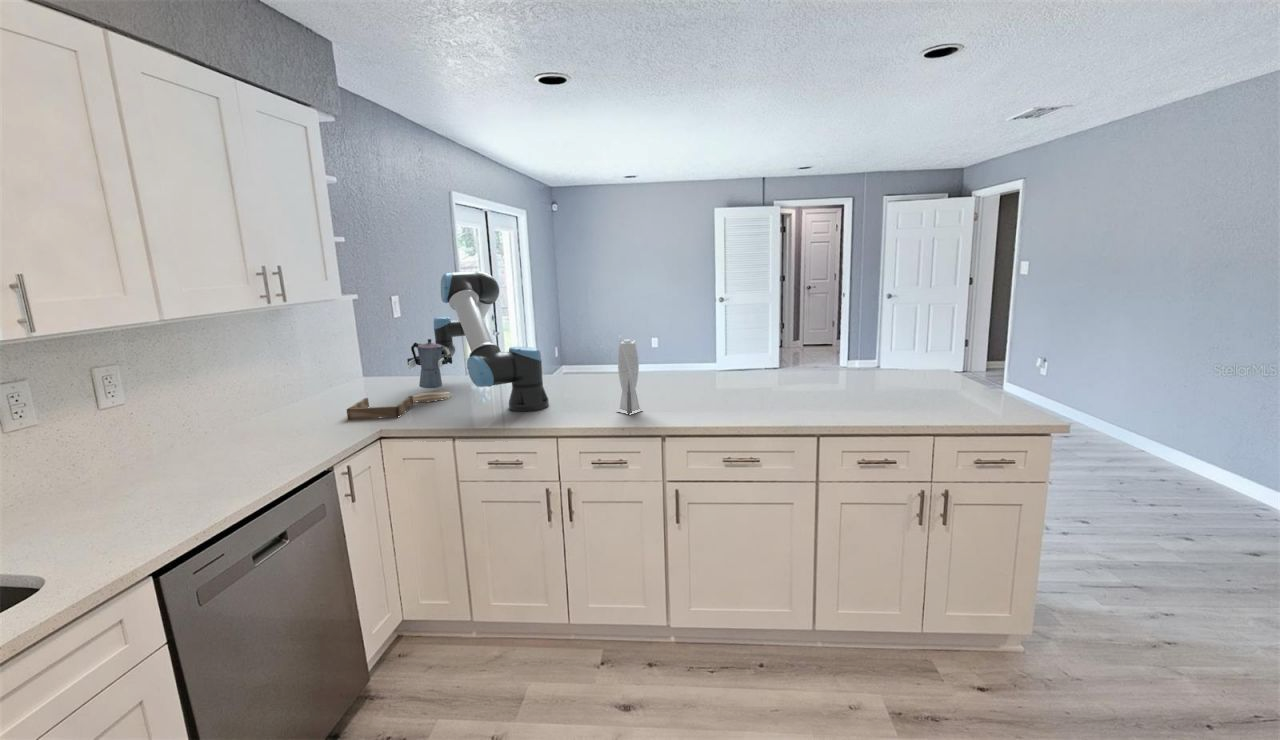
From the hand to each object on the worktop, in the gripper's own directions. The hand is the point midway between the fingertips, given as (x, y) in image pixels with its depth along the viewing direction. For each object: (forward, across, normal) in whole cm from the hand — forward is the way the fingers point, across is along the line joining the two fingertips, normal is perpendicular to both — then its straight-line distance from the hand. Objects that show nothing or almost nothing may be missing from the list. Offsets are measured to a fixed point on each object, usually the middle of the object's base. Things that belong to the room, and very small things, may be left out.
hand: (424, 364), depth 230 cm
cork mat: (-4, 0, -15) cm, 15 cm away
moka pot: (-4, 0, -10) cm, 11 cm away
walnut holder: (+17, +13, -15) cm, 25 cm away
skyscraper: (+31, -82, -14) cm, 88 cm away
